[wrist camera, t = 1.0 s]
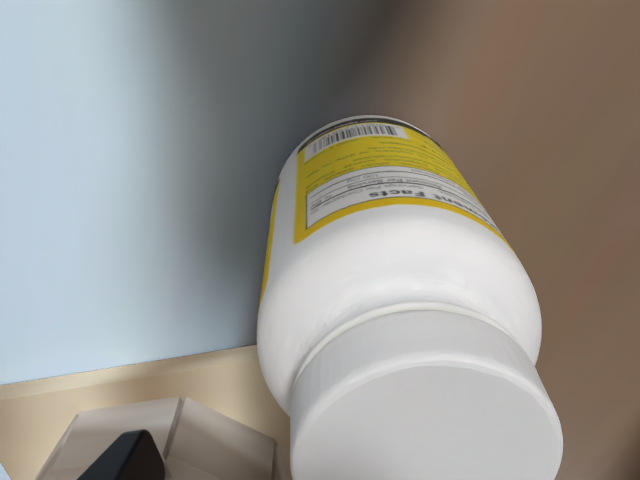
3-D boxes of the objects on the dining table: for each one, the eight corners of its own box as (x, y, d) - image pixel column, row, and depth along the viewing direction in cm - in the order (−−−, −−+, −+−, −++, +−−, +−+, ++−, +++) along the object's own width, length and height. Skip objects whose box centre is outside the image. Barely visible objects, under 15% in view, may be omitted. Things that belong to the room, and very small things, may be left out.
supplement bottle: (380, 307, 19) (437, 623, 10) (240, 218, 17) (163, 498, 8) (497, 181, 17) (696, 437, 8) (350, 69, 15) (398, 232, 6)
